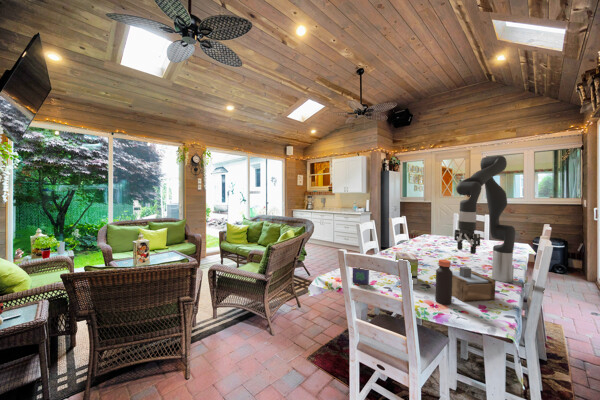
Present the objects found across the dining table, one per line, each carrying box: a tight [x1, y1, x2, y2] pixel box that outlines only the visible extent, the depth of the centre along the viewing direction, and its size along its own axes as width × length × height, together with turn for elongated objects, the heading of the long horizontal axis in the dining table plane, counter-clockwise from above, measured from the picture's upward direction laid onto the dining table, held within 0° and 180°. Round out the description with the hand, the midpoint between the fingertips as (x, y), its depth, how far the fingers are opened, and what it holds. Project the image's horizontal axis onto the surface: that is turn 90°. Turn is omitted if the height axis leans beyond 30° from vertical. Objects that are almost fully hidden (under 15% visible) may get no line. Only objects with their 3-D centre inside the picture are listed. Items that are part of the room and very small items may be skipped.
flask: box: [351, 267, 370, 286], centre depth 141 cm, size 9×3×11 cm, turn 68°
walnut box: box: [452, 270, 497, 303], centre depth 129 cm, size 18×17×10 cm
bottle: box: [434, 259, 453, 306], centre depth 118 cm, size 7×7×20 cm
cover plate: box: [452, 266, 489, 284], centre depth 128 cm, size 14×14×6 cm
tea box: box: [395, 252, 419, 285], centre depth 148 cm, size 15×10×15 cm
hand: (466, 251), depth 128 cm, fingers open, 8 cm apart
